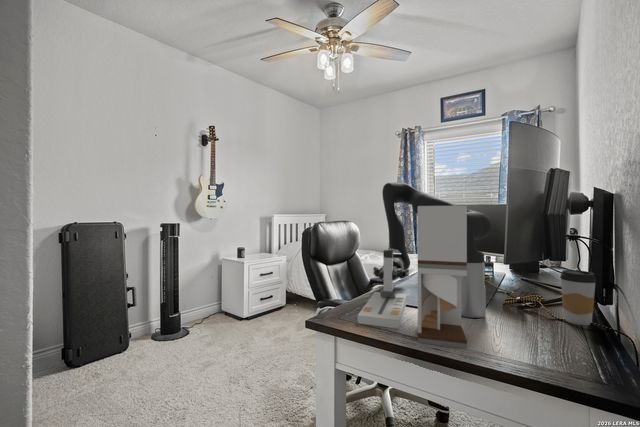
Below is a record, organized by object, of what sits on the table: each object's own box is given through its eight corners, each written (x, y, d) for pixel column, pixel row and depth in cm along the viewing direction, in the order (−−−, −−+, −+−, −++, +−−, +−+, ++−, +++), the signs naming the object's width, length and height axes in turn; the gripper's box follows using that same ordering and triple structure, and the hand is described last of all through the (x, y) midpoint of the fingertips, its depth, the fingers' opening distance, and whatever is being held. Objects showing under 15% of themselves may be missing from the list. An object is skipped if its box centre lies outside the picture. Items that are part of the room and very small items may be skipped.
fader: (396, 295, 110) (396, 250, 110) (394, 298, 106) (394, 251, 106) (382, 293, 112) (382, 249, 112) (380, 296, 108) (380, 251, 108)
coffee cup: (596, 321, 91) (596, 271, 91) (596, 329, 85) (596, 276, 85) (561, 315, 97) (561, 268, 97) (558, 322, 91) (558, 272, 91)
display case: (417, 342, 77) (417, 206, 77) (417, 327, 88) (417, 206, 87) (466, 348, 74) (466, 205, 74) (460, 331, 84) (460, 206, 84)
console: (407, 301, 113) (407, 294, 113) (398, 328, 87) (398, 319, 87) (374, 298, 117) (374, 291, 117) (357, 323, 91) (357, 314, 91)
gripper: (375, 258, 125) (367, 265, 109) (411, 259, 120) (408, 267, 104) (375, 276, 125) (367, 285, 109) (411, 278, 120) (408, 289, 104)
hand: (387, 276), depth 107 cm, fingers open, 3 cm apart
